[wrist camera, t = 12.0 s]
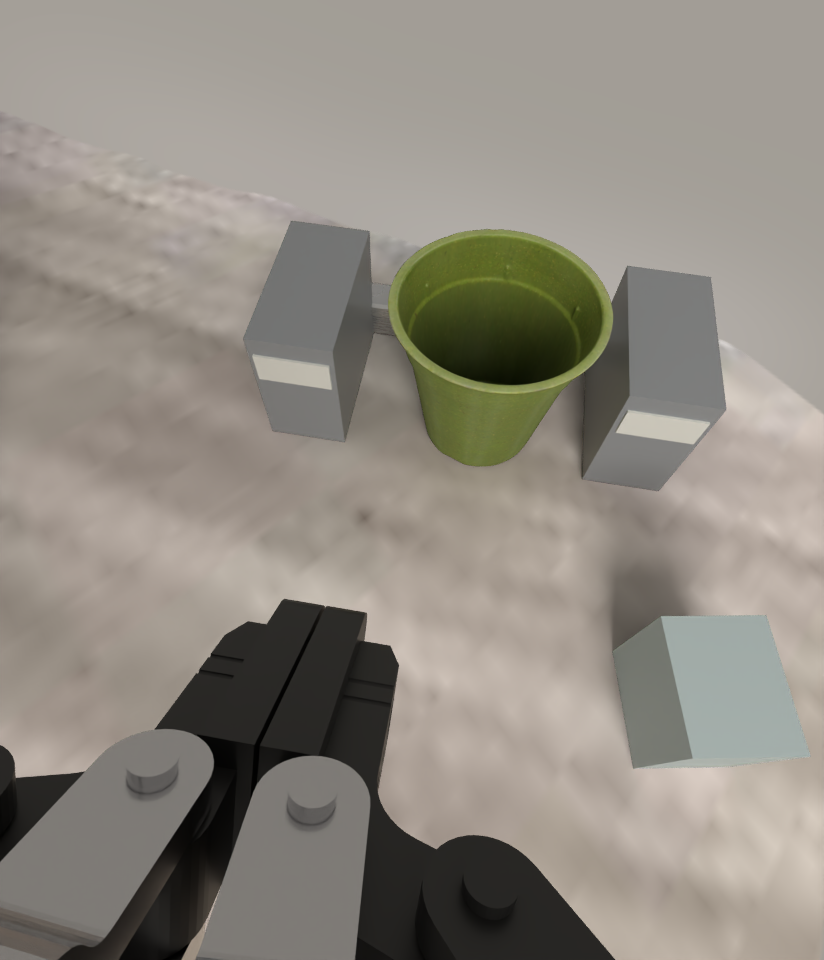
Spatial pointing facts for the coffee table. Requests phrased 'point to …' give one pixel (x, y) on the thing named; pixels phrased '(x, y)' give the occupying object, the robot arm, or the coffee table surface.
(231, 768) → the robot arm
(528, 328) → the plant pot
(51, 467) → the coffee table surface
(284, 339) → the block
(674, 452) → the block
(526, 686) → the coffee table surface
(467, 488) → the coffee table surface
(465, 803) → the coffee table surface
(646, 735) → the block
